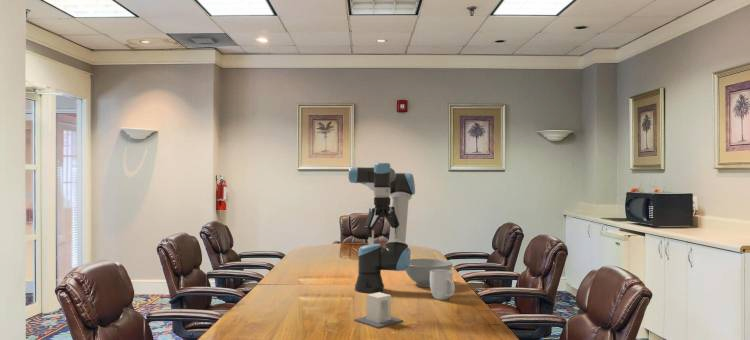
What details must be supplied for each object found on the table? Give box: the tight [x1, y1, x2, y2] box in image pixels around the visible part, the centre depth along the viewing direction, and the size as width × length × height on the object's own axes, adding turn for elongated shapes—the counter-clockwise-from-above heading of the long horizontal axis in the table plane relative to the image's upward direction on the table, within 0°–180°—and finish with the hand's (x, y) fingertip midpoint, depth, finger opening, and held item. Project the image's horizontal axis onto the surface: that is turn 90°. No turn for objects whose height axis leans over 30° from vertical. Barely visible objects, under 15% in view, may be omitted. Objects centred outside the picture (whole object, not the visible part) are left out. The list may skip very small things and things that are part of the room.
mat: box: [353, 315, 404, 329], centre depth 209 cm, size 14×14×1 cm
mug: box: [429, 269, 456, 301], centre depth 246 cm, size 15×11×13 cm
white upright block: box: [366, 291, 392, 323], centre depth 209 cm, size 7×7×10 cm
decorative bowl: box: [404, 258, 454, 288], centre depth 279 cm, size 27×27×12 cm
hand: (382, 243), depth 233 cm, fingers open, 13 cm apart
